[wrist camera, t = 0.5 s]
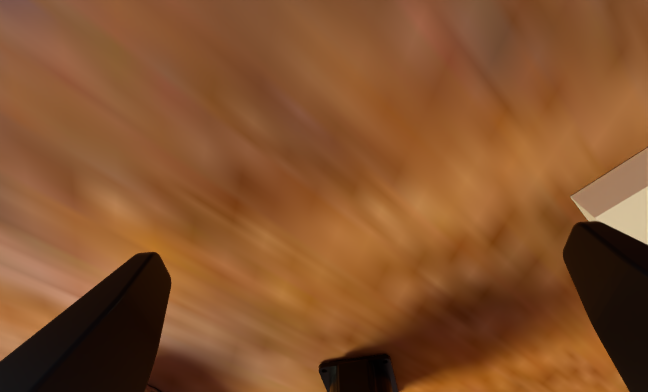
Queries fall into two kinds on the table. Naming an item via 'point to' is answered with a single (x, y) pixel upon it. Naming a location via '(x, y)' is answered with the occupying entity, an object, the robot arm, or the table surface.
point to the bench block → (619, 198)
